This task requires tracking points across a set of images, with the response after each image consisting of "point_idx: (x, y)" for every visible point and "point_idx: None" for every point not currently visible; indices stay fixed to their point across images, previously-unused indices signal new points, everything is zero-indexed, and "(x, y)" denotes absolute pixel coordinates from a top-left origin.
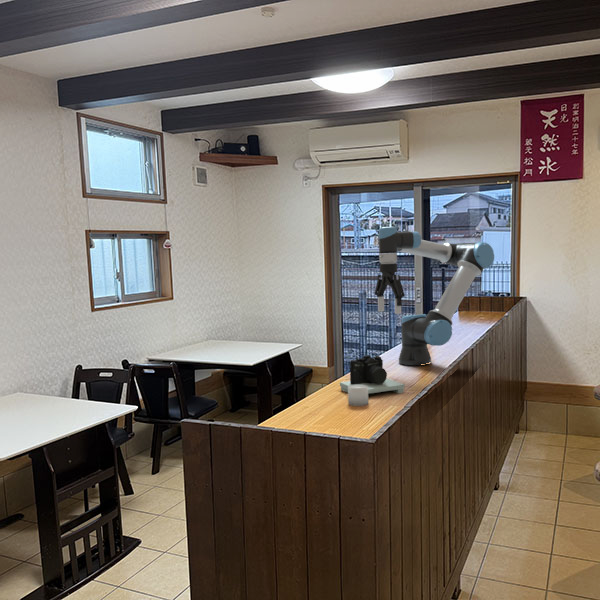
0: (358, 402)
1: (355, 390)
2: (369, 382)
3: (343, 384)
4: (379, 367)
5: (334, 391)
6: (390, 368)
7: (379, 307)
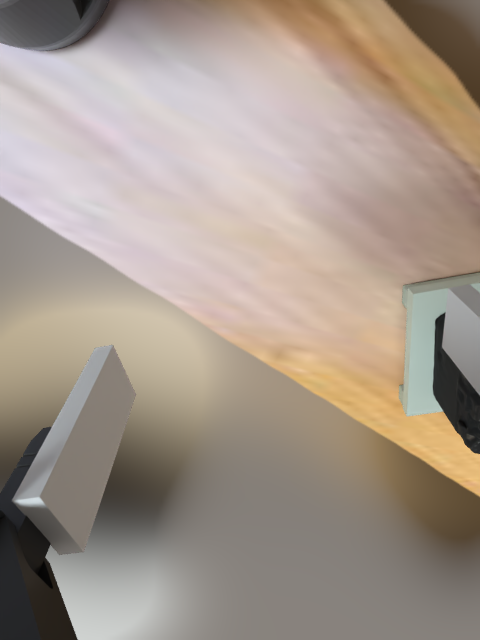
0: None
1: None
2: None
3: (428, 411)
4: None
5: (403, 413)
6: (139, 146)
7: (122, 421)
